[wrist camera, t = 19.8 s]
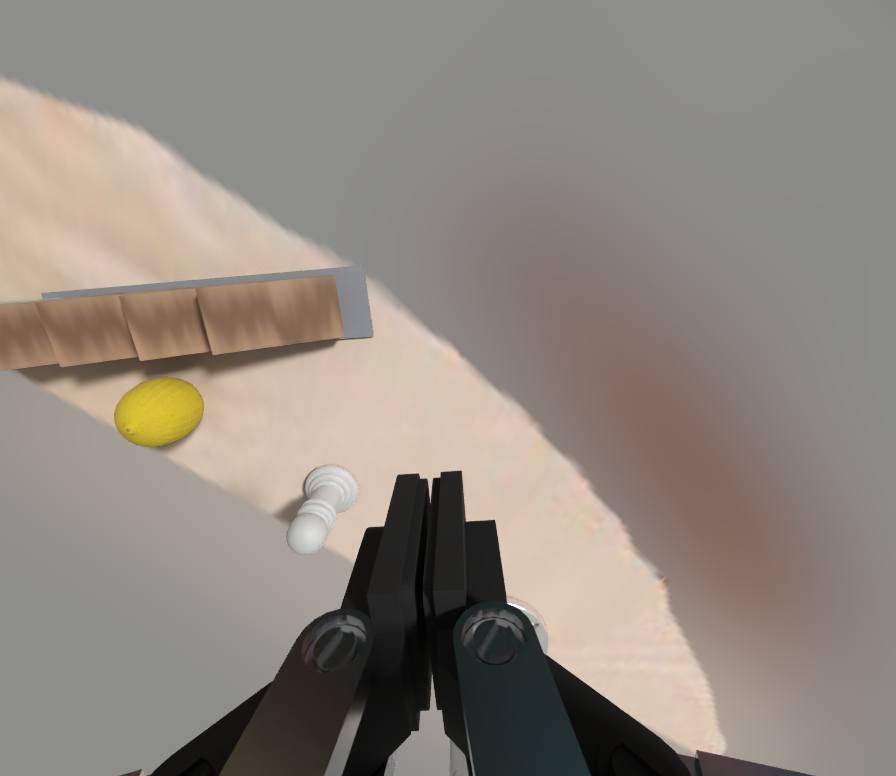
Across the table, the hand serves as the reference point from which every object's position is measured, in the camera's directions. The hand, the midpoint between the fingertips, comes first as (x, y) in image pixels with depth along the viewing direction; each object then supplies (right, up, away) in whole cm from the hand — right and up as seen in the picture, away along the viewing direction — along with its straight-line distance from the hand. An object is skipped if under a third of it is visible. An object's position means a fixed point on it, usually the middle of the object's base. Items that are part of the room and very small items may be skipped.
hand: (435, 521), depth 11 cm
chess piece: (-11, -6, +31) cm, 34 cm away
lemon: (-24, +3, +28) cm, 37 cm away
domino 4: (-9, +10, +24) cm, 28 cm away
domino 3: (-15, +10, +24) cm, 30 cm away
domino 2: (-21, +9, +24) cm, 34 cm away
